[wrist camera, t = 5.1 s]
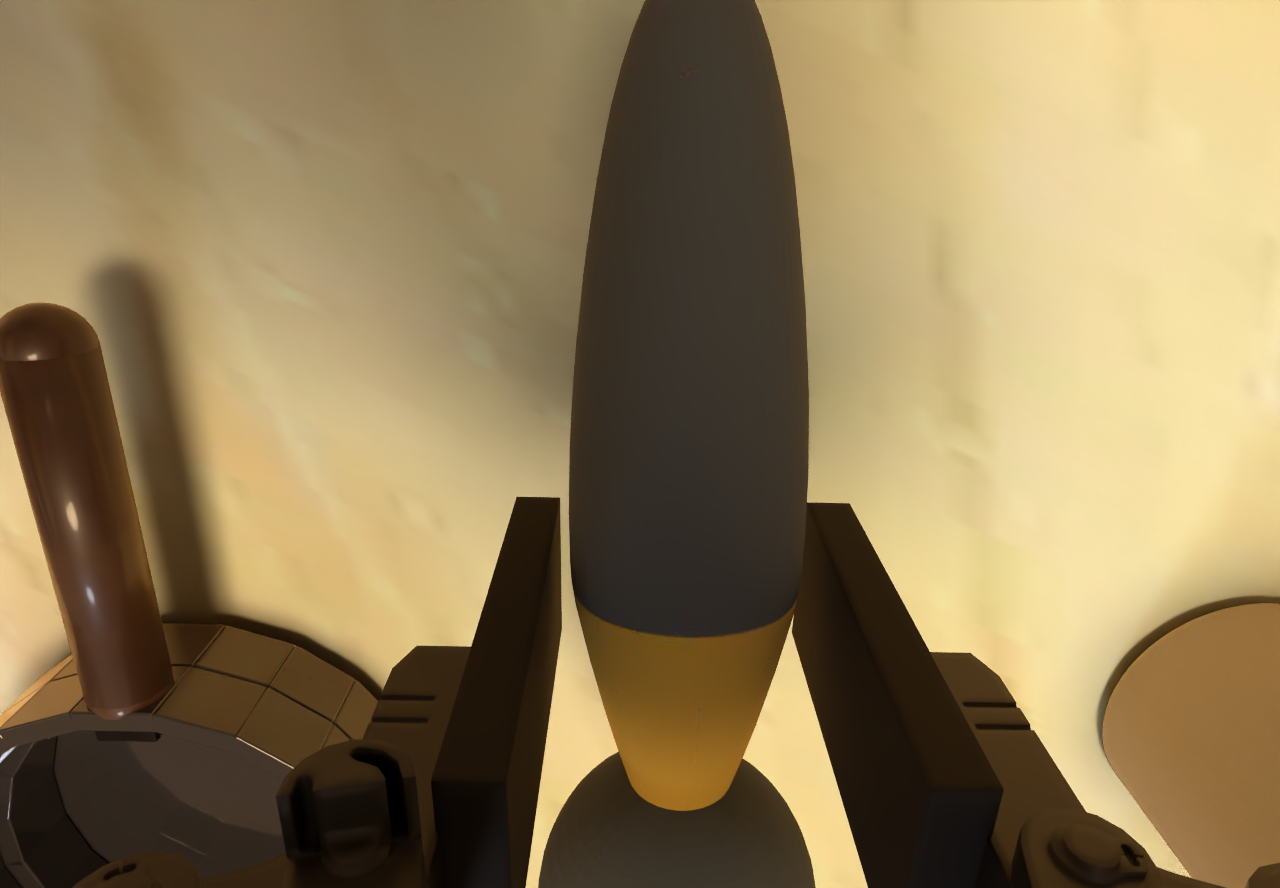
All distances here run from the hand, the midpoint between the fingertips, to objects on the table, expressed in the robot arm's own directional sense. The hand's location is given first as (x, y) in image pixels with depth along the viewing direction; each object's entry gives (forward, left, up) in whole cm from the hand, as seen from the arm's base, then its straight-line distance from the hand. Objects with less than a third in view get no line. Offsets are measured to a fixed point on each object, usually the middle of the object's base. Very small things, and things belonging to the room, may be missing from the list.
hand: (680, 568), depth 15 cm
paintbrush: (0, 0, -1) cm, 1 cm away
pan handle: (+2, -14, -6) cm, 15 cm away
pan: (+13, -14, -8) cm, 21 cm away
